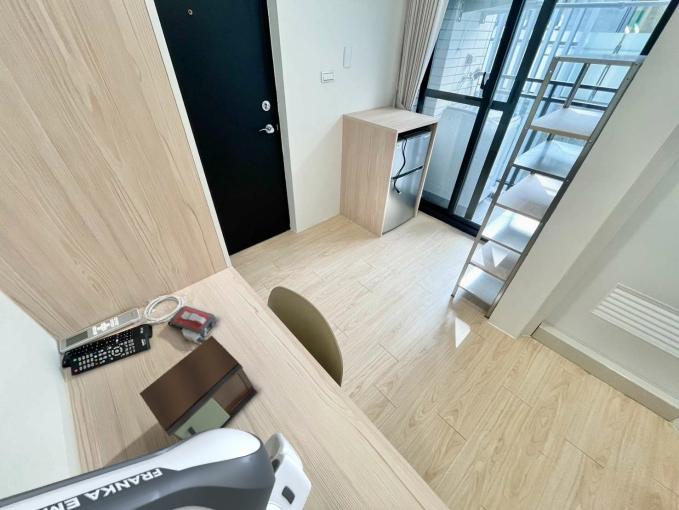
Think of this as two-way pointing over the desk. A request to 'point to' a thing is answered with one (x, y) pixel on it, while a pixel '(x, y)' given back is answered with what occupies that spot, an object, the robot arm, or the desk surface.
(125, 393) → the desk surface
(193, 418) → the door
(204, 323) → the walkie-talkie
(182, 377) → the cupboard
